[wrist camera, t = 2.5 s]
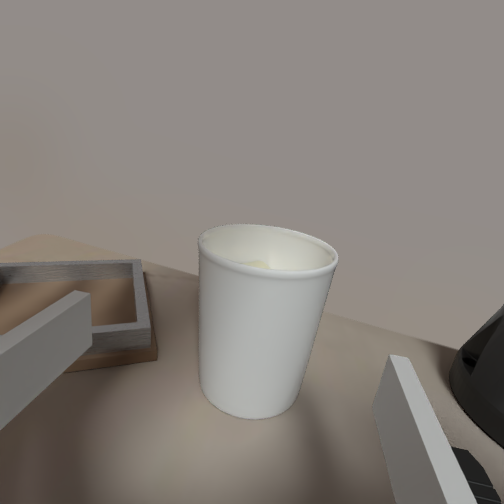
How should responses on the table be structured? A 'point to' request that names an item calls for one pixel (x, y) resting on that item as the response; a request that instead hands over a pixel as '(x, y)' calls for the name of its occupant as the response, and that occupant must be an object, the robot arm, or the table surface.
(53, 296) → the walnut plate
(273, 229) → the candle holder
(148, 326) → the grey square frame
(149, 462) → the table surface
